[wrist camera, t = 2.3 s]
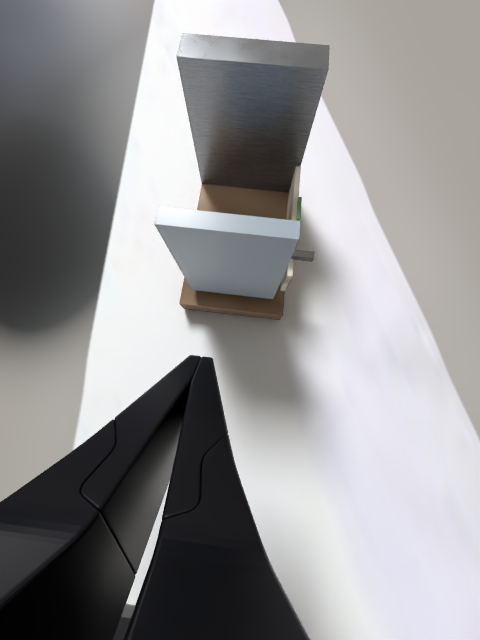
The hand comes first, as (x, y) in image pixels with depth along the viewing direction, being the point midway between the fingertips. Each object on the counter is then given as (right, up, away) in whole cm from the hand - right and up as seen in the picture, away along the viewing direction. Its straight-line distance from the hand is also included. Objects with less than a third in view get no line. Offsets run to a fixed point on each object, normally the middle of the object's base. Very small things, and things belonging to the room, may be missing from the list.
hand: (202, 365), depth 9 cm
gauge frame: (+2, +9, +14) cm, 17 cm away
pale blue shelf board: (+2, +6, +12) cm, 13 cm away
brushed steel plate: (+2, +16, +14) cm, 21 cm away
